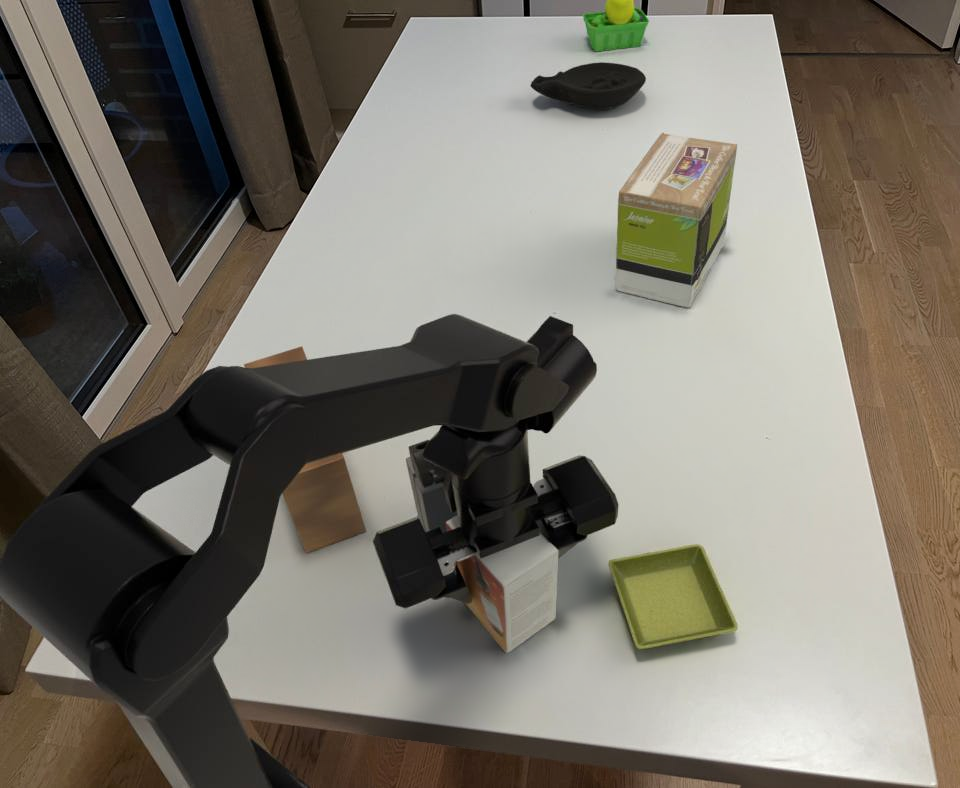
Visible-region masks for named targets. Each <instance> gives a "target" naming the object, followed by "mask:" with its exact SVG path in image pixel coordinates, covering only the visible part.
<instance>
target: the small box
mask: <svg viewBox="0 0 960 788" xmlns="http://www.w3.org/2000/svg"><path fill="white" fill-rule="evenodd" d="M458 527H460V526H459V521H458V515H456V516H455V517H453V518H452V519H450V520H448V521H447V522H446V530H447V531H450V530H453V529H455V528H458ZM539 533H540V532H539ZM457 566H458V568H459V570H460V572H461V574H462V577H463V579H464V581H465V583H466V585H467V587H468V590H469V592H470V594H471V596H472V602H471V603H469V604H467V603H464V604H465V605H466V607H468V609H469V610H470V611H471V612H472V614H473V615H474V616H475V617H476V618H477V620H478V621H479V622H480V623H481V625H482V626H483V627H484V628H485V629H486V631H487V632H488V633H489V635H491V637H492V638H493V639H494V640H495V642H496V643H497V644H498V645H499V646H500V648H501V649H502V650H503V651H504V652H505V653H506V654H508V653H510V652H511V651H512V650H514V649H515V648H518V646H520V645H521V644H522V643H524V642H525V641H527V640H528V639H530V638H531V637H533V636H534V635H535V634H536V633H538V632H539V631H541V630H542V629H543V628H545V627H546V626H548V625H549V624H550V623H551V622H553V621H555V620H556V618H557V616H556V615H557V594H558V593H557V592H558V577H559V576H558V575H559V573H558V572H559V571H558V569H559V559H558V549H557V548H556V547H555V546H553V545H552V544H551V543H550V542H549V541H548V540H547V539H546V538H545V537H544V536H543V535H542V534H541V533H540V535H539V536H537V537H534V538H532V539H529V540H527V541H524V542H522V543H519V544H517V545H514V546H512V547H509V548H507V549H504V550H502V551H499V552H497V553H494V554H492V555H489V556H487V557H484V558H482V559H481V558H480V556H479V554H477V555H475V556H472V557H470V558H467V559H465V560H462V561H460V562H458V563H457Z"/></svg>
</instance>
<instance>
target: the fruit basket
mask: <svg viewBox="0 0 960 788" xmlns="http://www.w3.org/2000/svg"><path fill="white" fill-rule="evenodd" d="M604 10H605V11H597V12H589V13H584V14H583V15H582V18H583V22H584V23H585V28H586V34H587V38H588V42H589V44H590V46H591V48H592V49H593V51H594V52H603V51H613V50H621V49H628V48H638V47H641V44H642V41H643V38H644V35H645V32H646V29H647V27H648V25H649V22H650V19H649V18H648V17H647V15H646V14H645V13H644V11H643V10H642V9H641V8H639V7H635V2H634V0H606V2H605V4H604Z"/></svg>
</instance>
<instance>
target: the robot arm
mask: <svg viewBox="0 0 960 788" xmlns="http://www.w3.org/2000/svg"><path fill="white" fill-rule="evenodd" d="M597 372H598V365H597V362H595V360H594V358H593V355H592V354H591V352H590V351H589V349H588V348H587V346H586V345H585V344H584V343H583V342H582V341H581V340H580V339H579V338H578V337H577V336H575V335H574V324H572V323H570V322H567V321H564V320H563V319H560V318H557V317H554V316H552V315H549V316H548V317H547V318H546V320H544V321H543V322H542V324H541V325H540V326H539V328H538V329H537V330H536V331H535V332H534V333H532V335H531V336H530V337H529V338H528V340H526V341H524V340H522V339H520V338H517V337H515V336H512V335H510V334H507V333H505V332H502V331H500V330H497V329H495V328H493V327H491V326H488V325H486V324H483V323H481V322H479V321H476V320H473V319H471V318H468V317H465V316H464V315H461V314H457V313H451V314H448V315H445V316H442V317H440V318H437V319H434V320H432V321H428V322H425V323H423V324H421V325H419V326H418V327H416V329H415V330H414V332H413V335H412V337H411V339H410V341H408V342H406V343H403V344H401V345H394V346H389V347H382V348H376V349H369V350H362V351H356V352H350V353H344V354H343V353H342V354H337V355H330V356H324V357H323V356H322V357H317V358H311V359H310V358H309V359H307V360H303V361H296V362H289V363H283V364H276V365H269V366H263V367H256V368H245V367H244V366H240V365H230V366H228V365H227V366H226V365H225V366H224V365H217V366H215V367H212V368H209V369H207V370H205V371H204V372H203V373H202V374H200V375H199V376H198V377H197V378H195V379H194V380H193V381H192V382H191V383H190V384H189V386H187V387H186V389H185V390H184V391H183V392H182V393H181V394H180V396H178V398H177V399H176V400H175V401H174V402H173V403H172V404H171V405H170V407H168V409H166V410H165V411H163V412H161V413H159V414H157V415H155V416H153V417H151V418H149V419H147V420H146V421H145V420H144V421H143V422H141V423H139V424H138V425H135V426H133V427H132V428H130V429H128V430H126V431H124V432H122V433H120V434H118V435H115V436H114V437H112V438H110V439H108V440H106V441H105V442H102V443H101V444H98V445H96V446H95V447H94V448H93V449H91V450H90V451H89V452H88V453H87V454H86V455H85V456H84V457H83V458H82V459H81V460H80V462H78V463H77V465H76V466H75V467H74V468H73V469H72V470H71V471H70V472H69V473H68V474H67V475H66V477H64V479H62V481H61V482H60V483H59V484H58V485H57V486H56V487H55V488H54V489H53V490H52V492H50V494H48V495H47V497H46V498H45V499H44V500H43V501H42V502H41V503H40V504H39V505H38V506H37V507H36V508H35V509H34V510H33V512H32V513H30V514H29V516H27V518H26V519H25V520H24V521H22V522H21V524H20V525H19V527H18V528H17V529H16V531H15V532H14V534H13V535H12V536H11V538H10V539H9V540H8V542H7V543H6V545H5V548H4V550H3V553H2V555H1V557H0V598H1V599H2V600H3V601H4V602H5V603H6V604H7V605H8V606H10V608H12V609H13V610H14V611H15V612H16V613H17V614H18V615H19V616H20V617H21V618H23V619H24V620H25V621H26V622H27V623H28V624H29V625H30V626H31V627H32V628H33V629H34V630H36V632H38V633H39V634H40V635H41V636H42V637H43V638H44V639H45V640H46V641H47V642H48V643H49V644H51V645H52V646H53V647H54V648H55V649H56V650H57V651H58V652H59V653H60V654H62V655H63V656H64V657H65V658H66V659H67V660H68V661H69V662H70V663H71V664H72V665H74V666H75V667H76V668H77V669H78V670H79V671H80V672H81V673H82V674H83V675H84V676H86V678H87V679H89V681H91V682H92V683H93V684H94V685H95V686H96V687H97V688H99V689H100V690H101V691H102V692H104V693H105V694H106V695H107V696H108V697H110V698H112V699H113V700H114V701H115V702H116V703H117V705H118V707H119V708H120V709H121V711H122V712H123V714H124V716H125V717H126V719H127V720H128V722H129V723H130V725H131V726H132V728H133V729H134V731H135V732H136V734H137V735H138V737H139V738H140V740H141V742H142V743H143V745H144V746H145V748H146V749H147V751H148V752H149V754H150V755H151V757H152V758H153V760H154V761H155V763H156V764H157V766H158V768H159V769H160V770H161V773H163V775H164V776H165V778H166V780H167V781H168V783H169V784H170V786H171V787H172V788H311V787H310V786H309V785H308V784H307V783H306V782H304V781H303V780H302V779H301V778H299V777H298V776H297V775H296V774H295V773H294V772H292V771H291V770H290V769H289V768H288V767H286V765H284V764H283V762H281V761H280V760H278V758H276V757H274V756H273V755H272V753H270V752H269V751H267V749H265V748H264V747H263V746H262V745H260V744H259V743H258V742H256V740H255V739H253V738H252V737H249V734H248V732H247V729H246V728H245V725H244V723H243V721H242V719H241V717H240V715H239V712H238V710H237V708H236V706H235V704H234V702H233V700H232V698H231V695H230V693H229V691H228V689H227V686H226V685H225V682H224V681H223V678H222V676H221V674H220V672H219V669H218V667H217V665H216V662H215V659H214V658H215V657H216V655H217V654H218V652H219V651H220V650H221V648H222V647H223V646H224V644H225V643H226V642H227V640H228V639H229V636H230V635H229V633H230V627H229V619H228V616H229V615H230V613H232V611H233V610H234V608H235V607H236V606H237V605H238V603H239V602H240V601H241V599H243V597H244V596H245V595H246V593H247V592H248V590H249V589H250V588H251V587H252V585H254V582H255V581H256V580H257V579H258V578H259V576H260V575H261V573H262V571H263V569H264V567H265V563H266V559H267V554H268V550H269V546H270V542H271V537H272V534H273V528H274V524H275V520H276V515H277V511H278V507H279V502H280V499H281V496H282V493H283V492H284V491H285V489H286V488H287V487H288V486H289V484H290V483H291V482H292V481H293V479H294V478H295V477H296V476H297V474H298V473H299V472H300V471H301V469H302V468H303V467H304V466H305V464H308V463H312V462H315V461H318V460H322V459H325V458H328V457H331V456H335V455H338V454H341V453H343V454H345V453H348V452H351V451H354V450H355V451H356V450H358V449H361V448H364V447H368V446H371V445H374V444H378V443H382V442H385V441H387V440H391V439H394V438H397V437H401V436H404V435H407V434H410V433H414V432H417V431H420V430H423V429H427V428H430V427H435V426H436V427H437V426H440V427H439V430H438V431H437V432H435V434H433V436H432V437H431V438H430V439H426V440H422V441H421V442H417V443H414V444H412V445H409V446H408V453H409V457H410V458H411V462H412V465H413V469H414V472H415V474H416V477H417V479H418V480H419V482H420V484H421V486H422V487H423V488H426V487H429V486H431V485H434V484H435V485H436V484H439V483H442V484H443V486H444V491H445V497H446V502H447V504H448V506H449V508H450V510H451V512H452V513H454V512H456V511H457V515H458V521H459V526H460V527H458V528H455V529H453V530H450V531H447V532H445V533H442V531H441V529H440V527H438V528H435V529H433V530H430V531H427V532H425V531H424V528H423V526H422V524H421V521H420V519H419V518H418V516H415V517H412V518H410V519H408V520H405V521H402V522H399V523H396V524H394V525H391V526H388V527H385V528H383V529H381V530H378V531H376V533H375V535H374V538H373V540H372V544H373V547H374V550H375V553H376V556H377V559H378V561H379V565H380V567H381V570H382V572H383V575H384V578H385V581H386V584H387V586H388V589H389V591H390V594H391V597H392V598H393V602H394V605H395V606H397V607H399V608H402V609H405V610H406V609H408V608H411V607H413V606H415V605H419V604H420V603H423V602H425V601H428V600H434V601H437V600H440V599H443V598H445V599H446V598H447V599H454V600H458V601H460V602H462V603H464V604H465V603H467V604H469V603H471V602H472V596H471V594H470V592H469V590H468V587H467V585H466V583H465V581H464V579H463V577H462V574H461V572H460V570H459V568H458V566H457V563H458V562H460V561H462V560H465V559H467V558H470V557H472V556H475V555H477V554H479V556H480V558H481V559H482V558H484V557H487V556H489V555H492V554H494V553H497V552H499V551H502V550H504V549H507V548H509V547H512V546H514V545H517V544H519V543H522V542H524V541H527V540H529V539H532V538H534V537H537V536H539V535H540V533H541V534H542V535H543V536H544V537H545V538H546V539H547V540H548V541H549V542H550V543H551V544H552V545H553V546H555V547H556V548H557V549H558V560H559V559H560V558H561V557H563V556H564V555H565V554H567V553H568V552H569V551H570V550H571V549H573V548H574V547H575V546H576V545H578V544H579V543H582V542H584V541H586V539H588V537H589V535H591V534H594V533H596V532H599V531H602V530H604V529H607V528H609V527H611V526H614V525H615V524H616V522H617V520H618V517H619V515H618V514H619V502H618V498H617V496H616V493H615V492H614V491H613V489H612V487H611V486H610V485H609V483H608V482H607V480H606V479H605V477H604V476H603V474H602V473H601V471H600V470H599V468H598V467H597V465H596V464H595V463H594V461H593V460H592V459H591V458H589V457H587V456H585V455H581V454H579V455H576V456H574V457H571V458H569V459H566V460H563V461H560V462H558V463H555V464H552V465H550V466H547V467H545V468H542V478H541V479H539V480H537V481H535V482H534V484H532V482H531V466H530V449H529V435H528V433H529V432H528V431H531V430H532V431H536V432H542V433H543V434H549V433H550V432H551V431H552V430H553V428H555V426H556V425H557V424H558V423H559V421H560V420H561V419H562V418H563V417H564V416H565V415H566V414H567V412H568V411H569V410H570V408H571V407H572V406H573V405H574V404H575V402H576V401H578V399H579V398H580V396H581V395H582V394H583V393H584V392H585V391H586V389H587V388H588V387H589V386H590V385H591V383H593V381H594V379H595V378H596V376H597ZM213 456H214V457H216V458H217V459H219V460H221V461H222V462H224V463H226V464H227V465H229V468H228V471H227V475H226V479H225V481H224V482H225V483H224V486H223V490H222V492H221V497H220V500H219V504H218V506H217V507H218V508H217V511H216V515H215V519H214V523H213V525H212V529H211V532H210V534H209V536H207V538H206V539H205V540H204V541H203V543H202V544H201V545H200V546H199V547H198V549H197V550H196V551H194V550H193V549H192V548H190V547H189V546H187V545H186V544H185V543H184V542H182V541H180V539H177V538H176V537H175V536H174V535H173V534H171V533H170V532H168V531H167V530H165V529H164V528H162V527H161V526H160V525H158V524H157V523H155V522H154V521H153V520H151V519H150V518H149V517H147V516H145V514H143V513H141V512H140V511H139V510H138V509H136V508H135V507H133V506H134V505H135V504H136V503H137V501H138V500H139V499H140V498H141V497H142V496H143V495H144V494H145V493H147V492H148V491H151V490H152V489H155V488H156V487H158V486H160V485H162V484H164V483H166V482H168V481H169V480H172V479H174V478H175V477H178V476H180V475H181V474H183V473H186V472H187V471H189V470H191V469H193V468H195V467H196V466H198V465H201V464H202V463H204V462H206V461H208V460H210V459H211V458H212V457H213ZM539 532H540V533H539Z"/></svg>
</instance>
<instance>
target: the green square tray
mask: <svg viewBox="0 0 960 788" xmlns="http://www.w3.org/2000/svg"><path fill="white" fill-rule="evenodd" d="M607 565H608V567H609V571H610V574H611V576H612V580H613V582H614V586H615V589H616V592H617V594H618V597H619V601H620V604H621V607H622V610H623V612H624V616H625V619H626V622H627V625H628V627H629V631H630V633H631V637H632V639H633V643H634V646H635V648H637V649H638V650H646V649H650V648H657V647H661V646H667V645H671V644H677V643H682V642H688V641H693V640H698V639H702V638H708V637H713V636H718V635H724V634H729V633H734V632H736V631H738V628H739V625H738V622H737V620H736V618H735V616H734V614H733V612H732V609H731V607H730V605H729V602H728V600H727V598H726V596H725V593H724V591H723V588H722V587H721V585H720V582H719V580H718V578H717V576H716V573H715V571H714V568H713V566H712V564H711V562H710V559H709V557H708V555H707V553H706V550H705V548H704V546H703V545H701V544H697V543H696V544H689V545H684V546H679V547H674V548H668V549H663V550H658V551H657V550H656V551H652V552H647V553H642V554H641V553H640V554H636V555H635V554H634V555H630V556H623V557H619V558H618V557H617V558H613V559H610V560H608V564H607Z"/></svg>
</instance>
